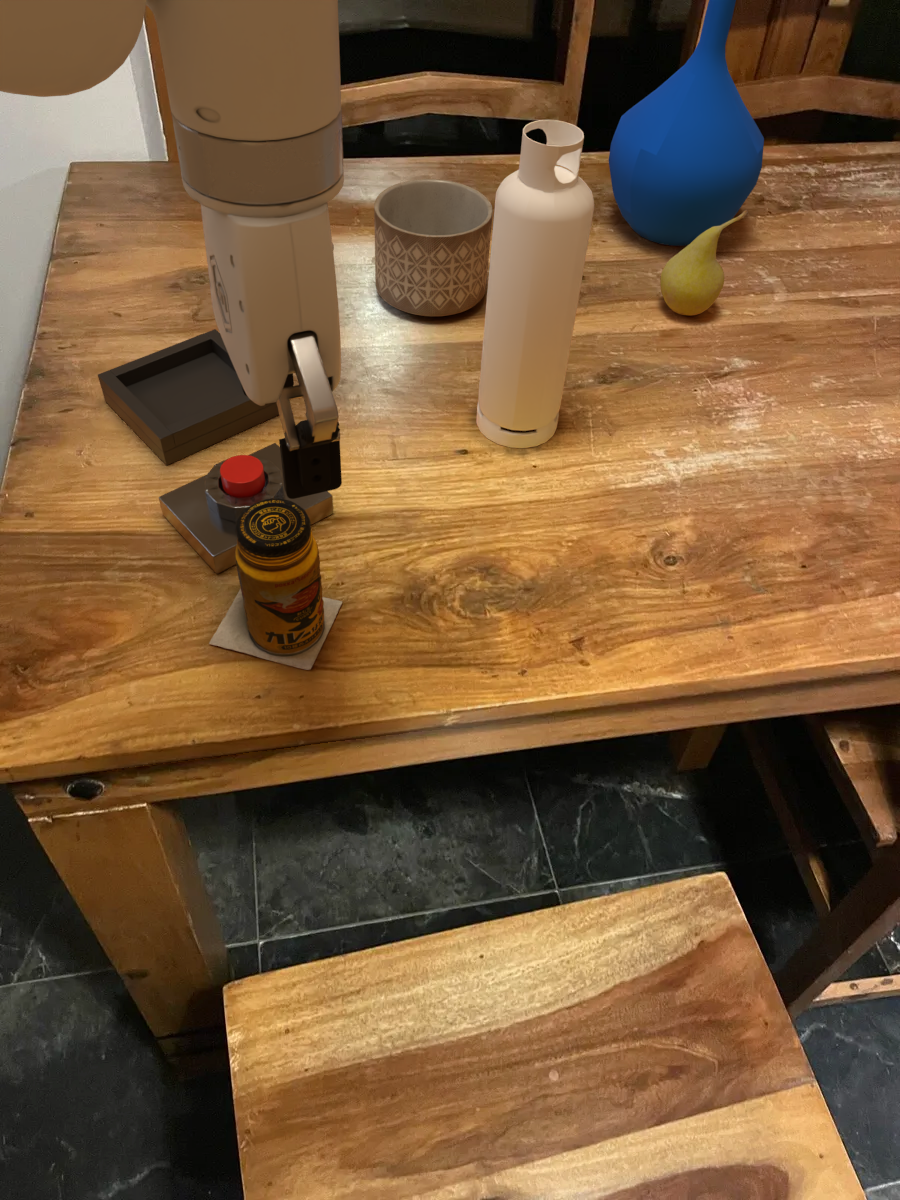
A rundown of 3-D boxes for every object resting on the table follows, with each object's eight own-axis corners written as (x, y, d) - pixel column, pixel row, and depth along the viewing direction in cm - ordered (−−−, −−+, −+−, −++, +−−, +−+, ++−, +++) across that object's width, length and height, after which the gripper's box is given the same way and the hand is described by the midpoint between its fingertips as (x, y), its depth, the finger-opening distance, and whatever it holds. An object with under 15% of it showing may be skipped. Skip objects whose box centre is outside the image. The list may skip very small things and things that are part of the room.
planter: (404, 335, 102) (405, 246, 94) (357, 278, 109) (355, 190, 101) (505, 309, 106) (514, 222, 98) (453, 256, 113) (458, 170, 105)
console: (216, 574, 78) (210, 541, 75) (162, 515, 82) (153, 481, 79) (333, 513, 83) (331, 480, 80) (277, 460, 88) (273, 426, 85)
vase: (760, 262, 116) (850, -14, 93) (617, 266, 113) (674, -15, 91) (713, 191, 127) (783, -69, 105) (583, 194, 125) (625, -72, 102)
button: (237, 504, 78) (234, 489, 77) (214, 481, 80) (211, 466, 79) (273, 486, 80) (271, 471, 79) (250, 464, 82) (248, 449, 80)
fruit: (648, 293, 110) (672, 193, 101) (710, 293, 111) (739, 194, 101) (662, 326, 106) (688, 225, 96) (726, 325, 106) (758, 224, 97)
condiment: (310, 671, 72) (299, 566, 63) (208, 645, 73) (183, 538, 64) (342, 603, 77) (336, 496, 68) (247, 579, 78) (228, 470, 69)
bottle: (516, 386, 97) (551, 102, 76) (573, 425, 93) (627, 137, 72) (459, 418, 93) (479, 127, 72) (516, 459, 89) (555, 166, 68)
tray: (166, 466, 86) (160, 439, 84) (105, 401, 92) (97, 374, 90) (284, 412, 92) (281, 386, 90) (219, 355, 98) (215, 328, 95)
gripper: (143, 82, 47) (196, 367, 60) (224, 253, 37) (266, 552, 50) (288, 68, 49) (308, 347, 62) (402, 226, 39) (398, 519, 52)
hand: (289, 438), depth 56 cm, fingers open, 9 cm apart
